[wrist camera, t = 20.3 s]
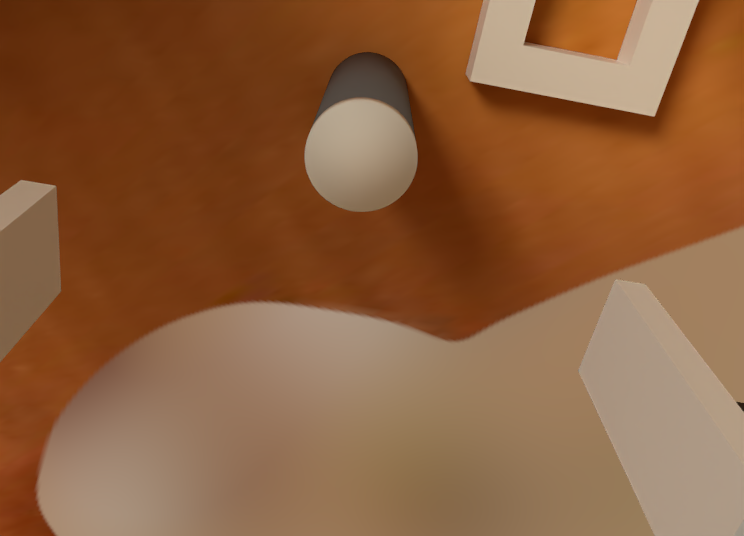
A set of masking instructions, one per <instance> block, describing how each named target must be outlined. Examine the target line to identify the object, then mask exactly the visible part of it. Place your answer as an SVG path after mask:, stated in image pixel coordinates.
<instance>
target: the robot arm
mask: <svg viewBox="0 0 744 536" xmlns="http://www.w3.org/2000/svg"><path fill="white" fill-rule="evenodd" d="M60 292H61V278H60V256H59V233H58V211H57V188H56V186H54V185H48V184H42V183H36V182H30V181H24V180H20V181H19V182H18V183H16V184H15V185H13V186H12V187H11V188H9V189H8V190H6V191H5V192H4V193H2V194H1V195H0V362H1V361H2V359H3V358H4V357H5V356H6V355H7V354H8V352H9V351H10V350H11V349H12V348H13V347H14V345H15V344H16V343H17V342H18V341H19V340H20V338H21V337H22V336H23V335H24V334H25V333H26V331H27V330H28V329H29V328H30V327H31V326H32V324H33V323H34V322H35V321H36V320H37V319H38V318H39V316H40V315H41V314H42V313H43V312H44V311H45V309H46V308H47V307H48V306H49V305H50V304H51V302H52V301H53V300H54V299H55V298H56V297H57V295H58V294H59V293H60ZM578 372H579V374H580V376H581V378H582V380H583V383H584V385H585V387H586V389H587V391H588V393H589V395H590V397H591V400H592V402H593V404H594V406H595V409H596V411H597V413H598V415H599V417H600V419H601V421H602V423H603V426H604V428H605V430H606V432H607V434H608V436H609V439H610V441H611V443H612V445H613V447H614V449H615V452H616V454H617V456H618V458H619V460H620V462H621V464H622V467H623V469H624V471H625V473H626V475H627V477H628V479H629V482H630V484H631V486H632V488H633V490H634V492H635V495H636V497H637V499H638V501H639V503H640V505H641V508H642V510H643V512H644V514H645V516H646V518H647V521H648V523H649V525H650V527H651V529H652V531H653V533H654V535H655V536H744V403H740V402H736V401H735V400H734V399H733V398H732V396H731V395H730V394H729V392H728V391H727V390H726V388H725V387H724V386H723V385H722V383H721V382H720V381H719V379H718V378H717V377H716V375H715V374H714V373H713V372H712V370H711V369H710V368H709V366H708V365H707V364H706V362H705V361H704V360H703V358H702V357H701V356H700V355H699V353H698V352H697V351H696V349H695V348H694V347H693V345H692V344H691V343H690V342H689V340H688V339H687V338H686V336H685V335H684V334H683V332H682V331H681V330H680V329H679V327H678V326H677V325H676V323H675V322H674V321H673V320H672V318H671V317H670V315H669V314H668V313H667V312H666V310H665V309H664V308H663V306H662V305H661V304H660V302H659V301H658V300H657V299H656V297H655V296H654V295H653V293H652V292H651V291H650V289H649V288H648V287H647V286H646V284H642V283H636V282H630V281H624V280H617V279H615V281H614V283H613V286H612V288H611V291H610V293H609V296H608V299H607V301H606V303H605V306H604V308H603V310H602V313H601V315H600V318H599V320H598V323H597V325H596V328H595V330H594V333H593V335H592V337H591V340H590V342H589V345H588V347H587V350H586V352H585V355H584V357H583V360H582V362H581V365H580V367H579V369H578Z"/></svg>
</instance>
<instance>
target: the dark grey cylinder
mask: <svg viewBox="0 0 744 536" xmlns="http://www.w3.org/2000/svg"><path fill="white" fill-rule="evenodd" d="M304 157H305V166H306V171H307V174H308V177H309V179H310V181H311V183H312V184H313V186H314V187H315V189H316V190H317V191H318V192H319V194H320V195H321V196H322V197H324V198H325V199H326V200H327V201H329V202H330V203H332V204H334V205H336V206H337V207H340V208H343V209H346V210H350V211H356V212H367V211H374V210H378V209H381V208H384V207H386V206H388V205H390V204H392V203H393V202H395V201H396V200H397V199H399V198H400V197H401V196H402V195H403V194H404V193H405V191H406V190H407V189H408V188H409V186H410V184H411V183H412V181H413V178H414V176H415V173H416V169H417V163H418V153H417V145H416V139H415V133H414V127H413V121H412V114H411V108H410V102H409V96H408V90H407V84H406V80H405V78H404V75H403V73H402V72H401V70H400V69H399V67H398V66H397V65H396V64H395V63H394V62H393V61H391V60H390V59H389V58H387V57H385V56H383V55H380V54H377V53H371V52H364V53H358V54H355V55H352V56H350V57H348V58H347V59H345V60H344V61H342V62H341V63H340V64H339V65H338V66H337V68H336V69H335V70H334V72H333V74H332V76H331V78H330V81H329V84H328V86H327V89H326V91H325V94H324V97H323V99H322V102H321V104H320V107H319V110H318V112H317V115H316V118H315V120H314V123H313V125H312V128H311V131H310V133H309V136H308V139H307V142H306V146H305V155H304Z"/></svg>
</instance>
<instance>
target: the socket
mask: <svg viewBox="0 0 744 536" xmlns="http://www.w3.org/2000/svg"><path fill="white" fill-rule="evenodd" d="M535 1H536V0H483V4H482V8H481V12H480V16H479V21H478V25H477V29H476V33H475V37H474V41H473V45H472V49H471V54H470V58H469V62H468V66H467V70H466V76H467V77H468V79H469V80H470V81H472V82H477V83H482V84H487V85H493V86H498V87H503V88H508V89H513V90H519V91H524V92H529V93H534V94H539V95H545V96H550V97H555V98H560V99H565V100H570V101H576V102H581V103H586V104H591V105H596V106H602V107H607V108H612V109H617V110H622V111H628V112H633V113H638V114H643V115H648V116H654V117H655V114H656V111H657V109H658V106H659V104H660V101H661V98H662V96H663V93H664V91H665V88H666V85H667V83H668V80H669V77H670V75H671V72H672V70H673V67H674V64H675V62H676V59H677V57H678V54H679V51H680V49H681V46H682V43H683V41H684V38H685V36H686V33H687V30H688V28H689V25H690V22H691V20H692V17H693V15H694V12H695V9H696V7H697V4H698V2H699V0H637V3H636V6H635V9H634V11H633V14H632V17H631V20H630V23H629V26H628V29H627V32H626V35H625V38H624V41H623V44H622V47H621V49H620V52H619V55H618V58H617V60H615V59H609V58H604V57H599V56H594V55H589V54H584V53H579V52H574V51H569V50H564V49H559V48H554V47H549V46H544V45H539V44H534V43H529V42H524V41H525V37H526V34H527V30H528V26H529V23H530V19H531V16H532V12H533V8H534V5H535Z"/></svg>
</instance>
